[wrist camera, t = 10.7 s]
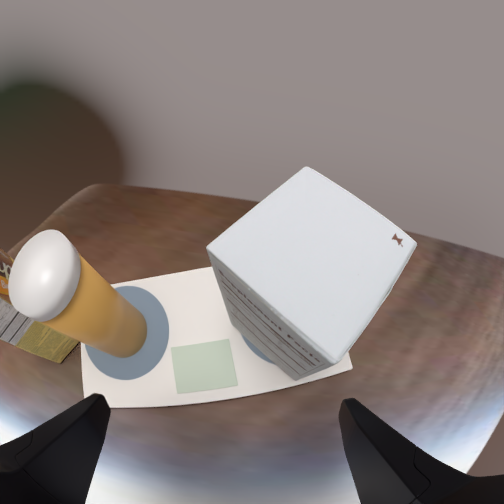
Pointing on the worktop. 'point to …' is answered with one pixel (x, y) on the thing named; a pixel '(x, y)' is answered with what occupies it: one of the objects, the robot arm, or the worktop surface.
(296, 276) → the supplement box
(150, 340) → the white board
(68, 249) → the amber tube
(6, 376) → the worktop surface
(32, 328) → the candy box
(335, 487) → the worktop surface
